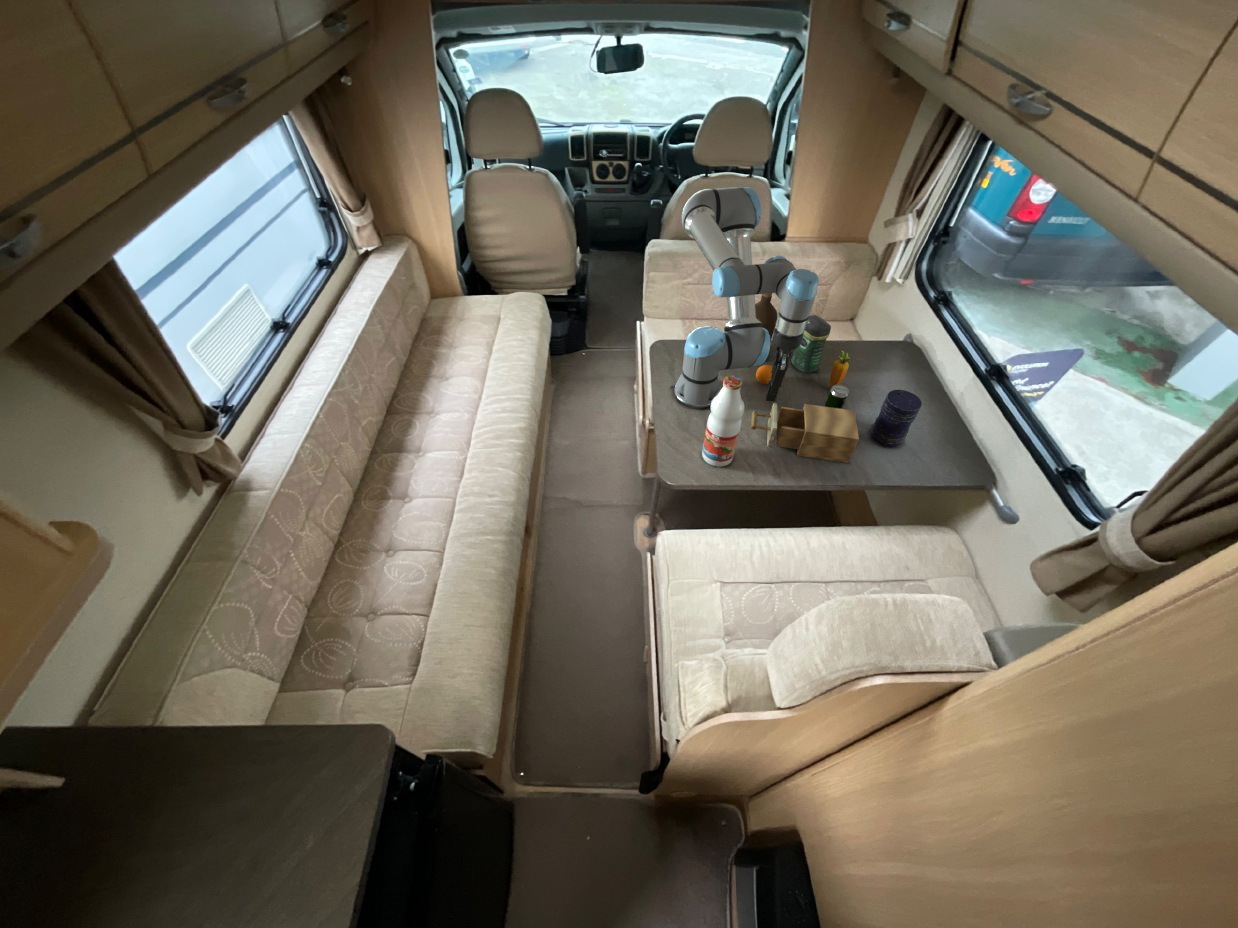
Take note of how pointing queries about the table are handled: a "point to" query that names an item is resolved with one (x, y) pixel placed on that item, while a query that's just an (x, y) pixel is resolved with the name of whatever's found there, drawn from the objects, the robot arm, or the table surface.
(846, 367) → the carrot
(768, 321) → the olive oil
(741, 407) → the fruit juice
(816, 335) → the coffee jar
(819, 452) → the cabinet
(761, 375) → the orange
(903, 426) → the storage jar
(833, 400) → the beer can
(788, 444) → the drawer
